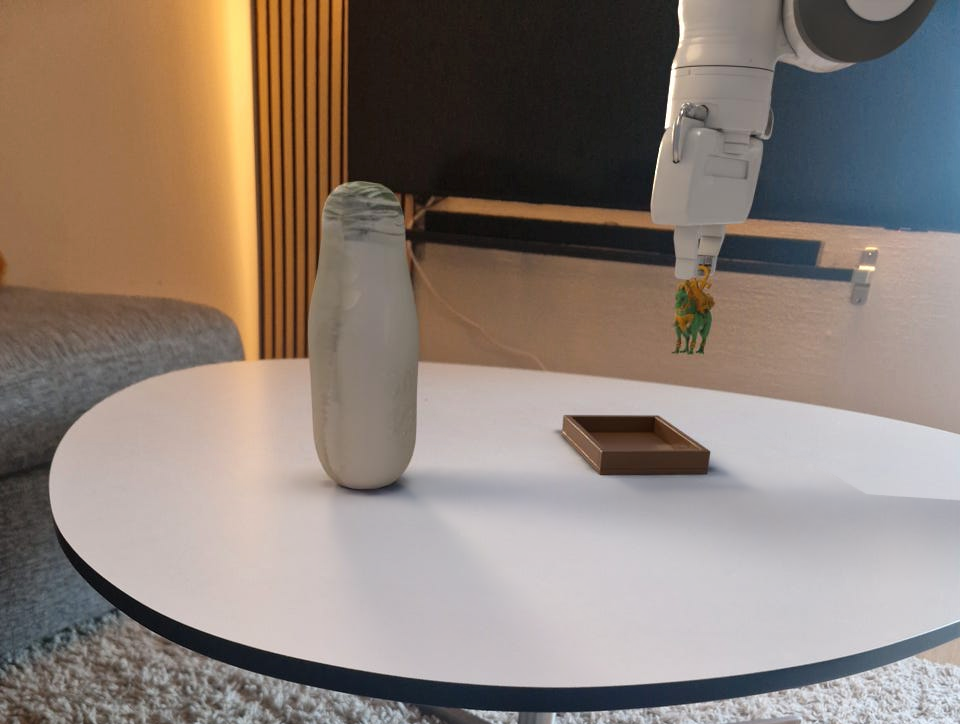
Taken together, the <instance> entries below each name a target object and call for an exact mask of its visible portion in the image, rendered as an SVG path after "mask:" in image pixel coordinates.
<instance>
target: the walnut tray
mask: <svg viewBox="0 0 960 724" xmlns="http://www.w3.org/2000/svg"><path fill="white" fill-rule="evenodd" d="M561 430H562V431H561V436H562V437H563V439H565V440H566V441H567V442H568V443H569V444H570V446H572V448H573V449H574V450H575V451H576V452H578V454H579V455H580V456H581V457H582V458H583V459H584V460H585V461H586V462H587V463H588V464H589V465H590V466H591V467H592V468H593V470H594V471H596V472H597V473H598V474H599V475H707V474H708V471H709V465H710V464H709V463H710V457H711V450H710V449H708V448H706V447H705V446H703V445H702V444H701V443H699V442H698V441H696V440H695V439H694V438H692V437H690V435H687V434H686V433H685V432H683V431H682V430H680V429H679V428H678V427H676V426H675V425H673V424H672V423H671V422H669V421H667V420H666V419H664V418H663V417H662V416H660V415H659V414H658V415H651V414H650V415H646V414H643V415H641V414H640V415H639V414H634V415H633V414H630V415H628V414H563V416H562V428H561Z"/></svg>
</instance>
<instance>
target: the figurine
mask: <svg viewBox="0 0 960 724" xmlns="http://www.w3.org/2000/svg"><path fill="white" fill-rule="evenodd" d="M700 270H704V271H705V272H706V275H705V276H704V279H697V277H696V278H693V279H692V280H685V281H684V282H680V283H679V284H678V285H677V290H678V291H677V292H676V293H675V294H674V297H675V303H674V305H673V308H674V309H676V312H675V313H674V314H675V316H674V322H673V323H670V324H669V326H670V327H674V330H675V334H676V336H677V339H676V341H675V350H674V351H671V354H673V355H674V354H675V355H679V354H685V353H686V355H687V356H688V355H691V356H693V355H694V349H695V348H696V345H697V339H698V333H699V335H700V337H701V342H700V343H699V348H698V350H696V351H695V354H699V355H700V354H701V355H704V354H705V346H706V345H707V338H708V336H709V334H710V331H711V326H712V322H713V316H712V313H711V310H712V309H713V308H714V307H715V305H716V302H715V300H714V299H715V298H714V297H713V296H714V294H710V292H706V293H705V292H704V291H703V290H704V288H705V289H707V290H710V288H711V287H712V286H713V284H712V283H710V282H709V281H707V280H708V279H709V277H710V276H711V275H710V273H709V270H708V268H707V267H706V266H699V267H698V271H700ZM709 275H710V276H709ZM699 283H700V284H699ZM682 336H683V338H684V339H685V343H684V344H685V346H684V349H683V350H680V349H681V347H682ZM691 337H692V339H691ZM690 339H691V342H690ZM689 344H690V345H689Z"/></svg>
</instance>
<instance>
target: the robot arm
mask: <svg viewBox="0 0 960 724" xmlns="http://www.w3.org/2000/svg"><path fill="white" fill-rule="evenodd" d="M937 2H938V0H678V7H677V17H678V18H677V19H678V25H679V40H678V45H677V49H676V52H675V55H674V57H673V60H672V63H671V67H670V78H669V87H668V95H667V103H666V104H667V105H666V114H665V122H664V130H665V131H664V133H663V135H662V138H661V141H660V145H659V151H658V156H657V161H656V166H655V167H656V168H655V174H654V179H653V186H652V193H651V198H650V199H651V200H650V215H651V222H652V223H653V224H655V225H661V226H662V225H663V226H674V231H673V244H674V252H675V266H674V277H675V278H676V279H677V280H685V281H686V280H689V281H692V280H693V278H696V279H697V277H698V276H699V277H700V276H701V277H705V275H706V272H705V271H704V270H700V271H698V267H699V266H706V267H707V268H708V270H709V273H710V275H709V277H710V276H713V275H714V274H715V272H716V267H717V262H718V256H719V253H720V251H721V248H722V245H723V243H724V241H725V236H726V230H727V225H736V224H744V223H745V222H746V220H747V219H748V217H749V214H750V212H751V209H752V205H753V201H754V197H755V193H756V188H757V184H758V180H759V174H760V169H761V165H762V159H763V155H764V153H763V152H764V142H763V141H762V140H769V139H770V138H771V136H772V132H773V127H774V122H775V121H774V120H775V119H774V116H775V115H774V112H773V109H772V106H771V103H772V90H773V84H774V83H773V82H774V76H775V71H776V65H777V63H781V64H785V65H790V66H792V67H798V68H800V69H802V70H806V71H808V72H812V73H832V72H836V71H839V70H840V71H841V70H843V69H845V68H848V67H851V66H853V65H856V64H858V63H866V62H870V61H874V60H878V59H880V58H883V57H885V56H887V55H889V54H890V53H892V52H894V51H896V50H897V49H898V48H900V47H901V46H902V45H904V44H905V43H906V42H907V41H908V40H910V39H911V37H913V35H915V33H916V32H918V30H919V29H920V27H921V26H922V25H923V24H924V22H925V21H926V20H927V18H928V17H929V15H930V13H931V12H932V11H933V8H934V7H935V6H936V3H937Z"/></svg>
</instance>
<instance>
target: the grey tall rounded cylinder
mask: <svg viewBox="0 0 960 724" xmlns="http://www.w3.org/2000/svg"><path fill="white" fill-rule="evenodd" d="M406 245H407V242H406V223H405V217H404V212H403V208H402V206H401V203H400V201H399V199H398V197H397V196H396V194H395V192H393V191H392V190H391V189H390V188H388V187H387V186H384V185H383V184H381V183H375V182H369V181H360V180H357V181H350V182H344V183H342V184H340V185H338V186H337V187H335V188H333V190H331V192H330V193H329V195H328V196H327V198H326V200H325V202H324V205H323V208H322V214H321V241H320V248H319V257H318V264H317V265H318V266H317V271H316V276H315V281H314V285H313V290H312V294H311V299H310V300H311V301H310V305H309V312H308V320H307V323H308V324H307V338H308V340H307V341H308V362H309V364H308V365H309V376H310V378H309V379H310V395H311V397H310V398H311V415H312V419H311V420H312V432H313V433H312V435H313V442H314V447H315V451H316V454H317V458H318V461H319V463H320V465H321V467H322V469H323V471H324V472H325V473H326V475H327V476H328V477H329V478H330V479H331V480H332V481H334V482H335V483H336V484H338V485H340V486H342V487H345V488H348V489H353V490H376V489H381V488H385V487H387V486H390V485H391V484H393V483H395V482H396V481H397V480H398V479H400V478H401V476H402V475H403V474H404V473H405V472H406V470H407V469H408V468H409V465H410V463H411V461H412V458H413V455H414V451H415V448H416V442H417V425H418V423H417V422H418V419H417V418H418V417H417V416H418V415H417V414H418V379H419V349H420V348H419V347H420V345H419V344H420V342H419V341H420V340H419V339H420V336H419V335H420V334H419V333H420V332H419V318H418V311H417V305H416V301H415V295H414V289H413V284H412V279H411V275H410V270H409V264H408V255H407V254H408V253H407V246H406Z"/></svg>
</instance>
